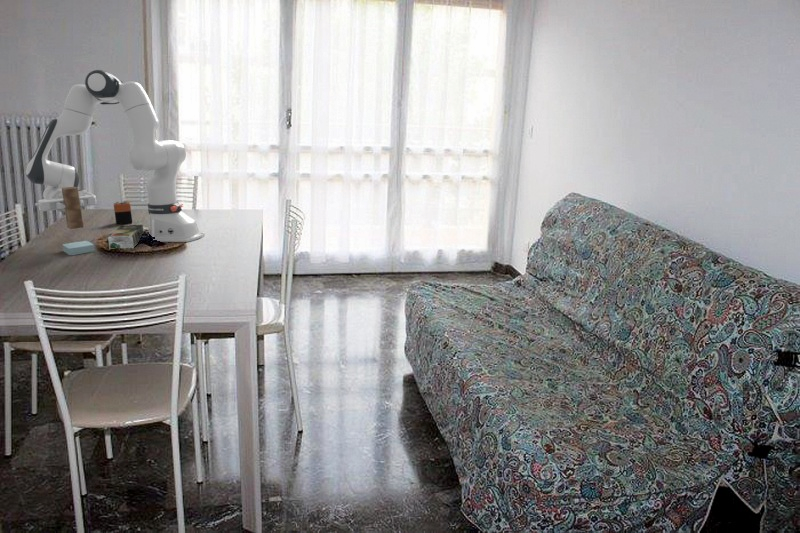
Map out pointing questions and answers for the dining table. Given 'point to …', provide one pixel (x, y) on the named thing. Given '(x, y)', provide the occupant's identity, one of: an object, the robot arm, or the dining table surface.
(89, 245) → the teal block
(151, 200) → the robot arm
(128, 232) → the juice carton
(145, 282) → the dining table surface
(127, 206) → the battery
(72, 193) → the walnut post
